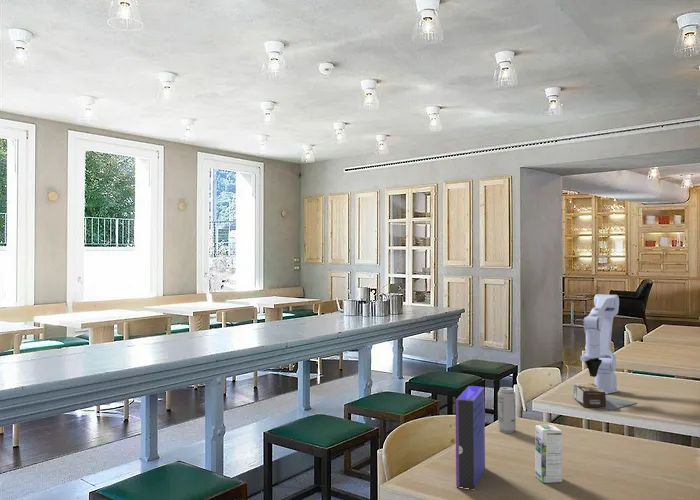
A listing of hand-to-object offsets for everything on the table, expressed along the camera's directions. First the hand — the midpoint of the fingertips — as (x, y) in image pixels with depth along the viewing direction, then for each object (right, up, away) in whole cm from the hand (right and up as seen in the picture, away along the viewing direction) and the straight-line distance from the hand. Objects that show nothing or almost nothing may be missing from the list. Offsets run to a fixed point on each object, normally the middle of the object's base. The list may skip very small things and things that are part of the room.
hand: (593, 376), depth 251 cm
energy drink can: (-48, -11, -42) cm, 64 cm away
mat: (+3, -10, -5) cm, 12 cm away
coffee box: (-3, -6, +3) cm, 8 cm away
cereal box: (-69, -11, -84) cm, 110 cm away
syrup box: (-48, -11, -86) cm, 99 cm away
